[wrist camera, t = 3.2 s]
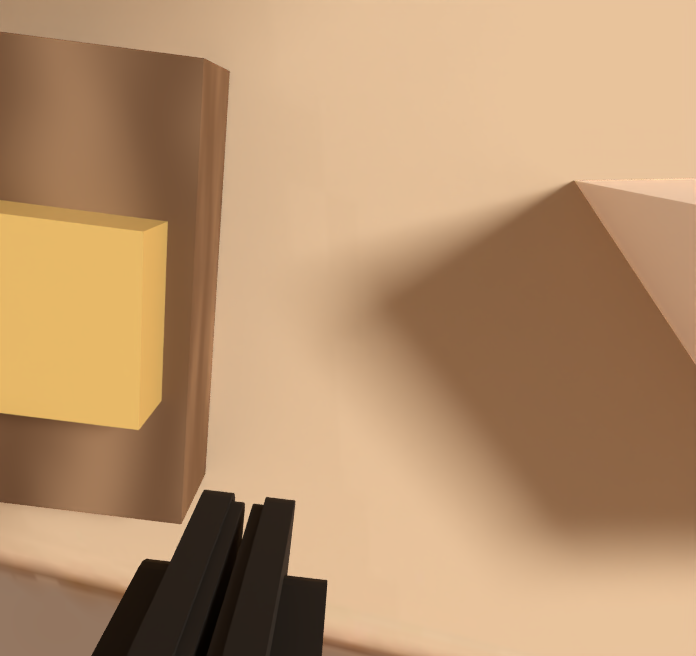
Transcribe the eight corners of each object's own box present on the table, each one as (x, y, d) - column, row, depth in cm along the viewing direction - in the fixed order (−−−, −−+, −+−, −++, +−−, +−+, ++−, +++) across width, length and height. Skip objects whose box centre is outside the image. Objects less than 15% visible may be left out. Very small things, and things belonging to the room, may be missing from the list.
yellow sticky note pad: (167, 221, 22) (143, 231, 19) (161, 400, 24) (138, 430, 21) (-114, 185, 22) (-173, 191, 19) (-95, 368, 24) (-147, 394, 21)
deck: (229, 71, 24) (203, 58, 20) (205, 473, 29) (181, 524, 25) (-129, 24, 24) (-224, 2, 20) (-87, 437, 29) (-156, 483, 25)
